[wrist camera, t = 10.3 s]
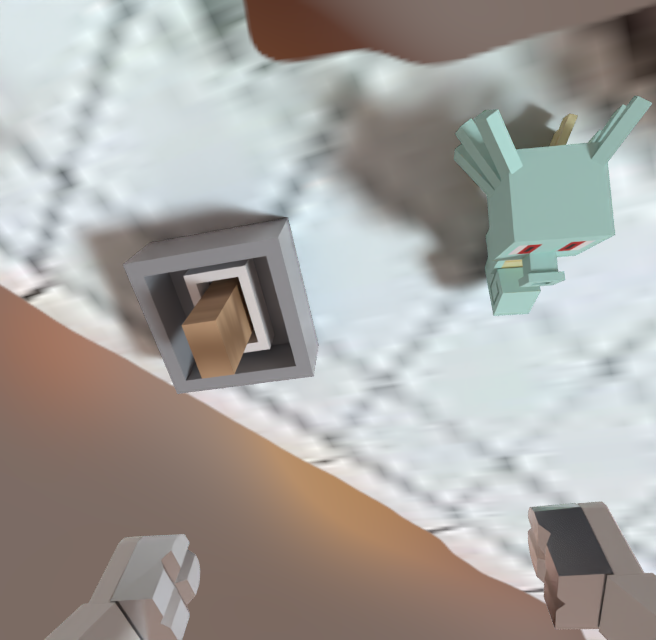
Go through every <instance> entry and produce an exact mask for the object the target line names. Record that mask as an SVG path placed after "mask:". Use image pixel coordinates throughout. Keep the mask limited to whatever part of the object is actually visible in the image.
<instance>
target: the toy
mask: <svg viewBox="0 0 656 640" xmlns="http://www.w3.org/2000/svg"><path fill="white" fill-rule="evenodd" d="M651 105H652V103H651V102H649V101H647V100H645V99H643V98H641V97H639V96H634V97H633V98H632V100H631V101H630V102H629V104H628V105H627V106H626V105H624V104H623V105H622V106H621V107H620V108H619V109H618V110H616V111H615V112H614V114H613V115H612V117H611V118H610V120H609V121H608V123H607V124H606V126H605V127H604V129H603V130H602V131H601V130H599V131H598V132H597V133H596V134H595V135H594V136H593V138H592V139H591V140H590V141H589V142H588V143H581V144H570V145H566V143H567V141H568V138H569V136H570V133H571V131H572V128H573V126H574V124H575V121H576V119H577V115H573V114H568V115H567V116H565V117H564V118H563V120H562V122H561V125H560V127H559V130H557V131H556V132H555V133H554V135H553V138H552V140H551V143H550V145H549V146H548V147H538V148H527V149H515V146H514V144H513V142H512V140H511V137H510V135H509V133H508V130H507V128H506V126H505V124H504V121H503V119H502V117H501V114H500V112H499V110H498V109H496V110H485V111H483V112H482V113H481V114H479V115H478V116H477V117H475V118H474V121H475V123H476V124H475V123H474V121H473V120H472V118H471V119H470V120H468V121H467V122H466V123H464V124H463V125H462V126H460V128H459V129H458V131H457V132H456V133H455V135H456V136H457V138H458V139H459V140H460V142H461V143H462V144H461V145H459V146H458V147H457V148H455V153H454V160H455V161H456V162H457V163H458V165H459V166H460V167H461V168H462V169H463V170H464V171H465V172H466V173H467V174H468V175H469V176H470V177H471V178H472V180H473V181H474V182H475V183H476V184H477V185H478V186H479V187H480V188H481V189H482V190H483V191H484V192H485V193H486V194H487V204H488V216H489V230H488V232H487V234H486V244H487V251H488V259H487V262H486V265H485V273H486V278H487V283H488V289H489V294H490V299H491V305H492V310H493V315H494V316H499V315H517V314H529V312H530V310H531V308H532V306H533V304H534V303H535V301H536V299H537V297H538V295H539V293H540V291H541V290H540V286H549V285H554V284H557V283H559V282H561V281H564V280H565V275H564V271H563V272H558V266H557V257H565V256H576V255H578V254H580V253H581V252H583V251H585V250H587V249H589V248H591V247H593V246H595V245H597V244H599V243H600V242H602V241H604V240H606V239H608V238H610V237H612V236H614V235H615V229H614V219H613V209H612V199H611V190H610V180H609V170H608V161H609V160H610V158H611V157H612V156H613V155H614V153H615V152H616V151H617V149H618V148H619V147H620V145H621V144H622V143H623V141H624V140H625V139H626V137H627V136H628V135H629V134H630V132H631V131H632V130H633V128H634V127H635V126H636V124H637V123H638V122H639V120H640V119H641V118H642V116H643V115H644V114H645V113H646V111H647V110H648V109H649V107H650V106H651Z"/></svg>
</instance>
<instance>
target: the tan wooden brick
mask: <svg viewBox="0 0 656 640" xmlns="http://www.w3.org/2000/svg"><path fill="white" fill-rule="evenodd" d="M182 328H183V331H184V333H185V336H186V338H187V341H188V344H189V346H190V349H191V351H192V354H193V357H194V359H195V362H196V364H197V367H198V370H199V372H200V375H201V377H202V379H203V378H211V377H218V376H226V375H234V374H235V372H236V369H237V367H238V365H239V362H240V360H241V357H242V355H243V353H244V350H245V348H246V346H247V343H248V341H249V338H250V336H251V334H252V331H253V329H254V327H253V323H252V320H251V317H250V314H249V310H248V307H247V304H246V301H245V297H244V294H243V291H242V288H241V284H240V281H239V278H238V277H233V278H227V279H221V280H215V281H213V282H212V283H211V284H210V286H209V287H208V289H207V290H206V292H205V293H204V294H203V296H202V297H201V299H200V300H199V301H198V303H197V304H196V306H195V307H194V309H193V310H192V311H191V313H190V314H189V316H188V317H187V318H186V320H185V321H184V323H183V324H182Z"/></svg>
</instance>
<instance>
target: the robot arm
mask: <svg viewBox="0 0 656 640" xmlns="http://www.w3.org/2000/svg"><path fill="white" fill-rule="evenodd" d="M528 519H529V522H530V525H531V527H532V528H531V529H530V530H529V531H528V544H529V550H530V556H531V560H532V563H533V567H534V570H535V573H536V576H537V577H538V578H539V579H540V580H541V581H542V582H544V599H545V602H546V605H547V608H548V610H549V613H550V616H551V619H552V622H553V625H554V628H555V629H599V632H600V633H601V634H602V635H603V636H604V637H605V638H606V639H607V640H656V575H655V574H653V573H644V571H643V570H642V568H641V566H640V564H639V562H638V561H637V559H636V557H635V555H634V553H633V552H632V550H631V548H630V546H629V544H628V543H627V541H626V539H625V537H624V536H623V534H622V532H621V530H620V528H619V527H618V525H617V523H616V521H615V519H614V518H613V516H612V514H611V512H610V511H609V509H608V507H607V505H605V504H604V503H603V502H589V503H578V504H576V503H570V504H559V505H548V506H537V507H530V508H529V510H528ZM188 545H189V541H188V540H187V538H186V536H185V534H180V535H159V536H140V537H126V538H124V539H123V540H122V541H121V542H120V543H119V544H118V546H117V548H116V550H115V552H114V554H113V556H112V558H111V560H110V562H109V564H108V566H107V568H106V569H105V571H104V574H103V575H102V577H101V579H100V581H99V583H98V585H97V587H96V589H95V591H94V593H93V596H92V598H91V600H90V601H89V603H88V604H82V605H81V606H80V607H79V608H78V609H77V610H76V611H75V612H74V613H73V614H71V615H70V616H69V617H68V618H67V619H66V620H65V621H64V622H63V623H62V624H61V625H60V626H58V627H57V628H56V629H55V630H54V631H53V632H52V633H51V634H50V635H49V636H48V637H46V638H45V639H44V640H182V638H183V635H184V632H185V629H186V625H187V622H188V619H189V616H190V614H189V611H188V608H187V604H188V603H189V602H190V601H191V600H192V599H193V598H194V597H195V596H196V592H197V589H198V586H199V579H200V567H199V561H198V559H197V557H196V555H195V554H194V553H192V552H191V551H189V550H187V548H188Z"/></svg>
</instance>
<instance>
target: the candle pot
mask: <svg viewBox="0 0 656 640" xmlns="http://www.w3.org/2000/svg"><path fill="white" fill-rule="evenodd" d="M123 266H124V269H125V271H126V273H127V276H128V278H129V281H130V283H131V285H132V288H133V290H134V292H135V295H136V297H137V299H138V302H139V304H140V306H141V309H142V311H143V314H144V316H145V318H146V321H147V323H148V325H149V328H150V330H151V332H152V335H153V337H154V340H155V342H156V344H157V347H158V349H159V351H160V354H161V356H162V358H163V361H164V363H165V366H166V368H167V370H168V373H169V375H170V377H171V380H172V382H173V384H174V387H175V389H176V391H177V393H178V394H180V393H188V392H195V391H203V390H211V389H219V388H226V387H234V386H242V385H250V384H258V383H265V382H273V381H281V380H289V379H296V378H304V377H312V376H314V371H315V365H316V358H317V352H318V346H319V344H318V340H317V336H316V332H315V328H314V324H313V319H312V315H311V311H310V307H309V303H308V299H307V295H306V290H305V286H304V282H303V278H302V274H301V270H300V265H299V261H298V257H297V253H296V249H295V245H294V241H293V236H292V232H291V228H290V224H289V220H288V218H283V219H278V220H272V221H267V222H261V223H256V224H250V225H245V226H239V227H234V228H228V229H223V230H217V231H212V232H206V233H201V234H195V235H190V236H184V237H179V238H173V239H168V240H162V241H157V242H151V243H149V244H147V245H146V246H145V247H144V248H143V249H141V250H140V251H139V252H138V253H136V254H135V255H134V256H133V257H131V258H130V259H129V260H128V261H127V262H125V263H124V264H123ZM233 277H238V278H239V281H240V284H241V288H242V291H243V294H244V297H245V301H246V304H247V307H248V310H249V314H250V317H251V320H252V323H253V327H254V329H253V331H252V334H251V336H250V338H249V341H248V343H247V346H246V348H245V350H244V353H243V355H242V357H241V360H240V362H239V365H238V367H237V369H236V372H235V374H234V375H226V376H218V377H211V378H203V379H202V377H201V375H200V372H199V370H198V367H197V364H196V362H195V359H194V357H193V354H192V351H191V349H190V346H189V344H188V341H187V338H186V336H185V333H184V331H183V328H182V324H183V323H184V321H185V320H186V318H187V317H188V316H189V314H190V313H191V311H192V310H193V309H194V307H195V306H196V304H197V303H198V301H199V300H200V299H201V297H202V296H203V294H204V293H205V292H206V290H207V289H208V287H209V286H210V284H211V283H212V282H213V281H215V280H221V279H227V278H233Z"/></svg>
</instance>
